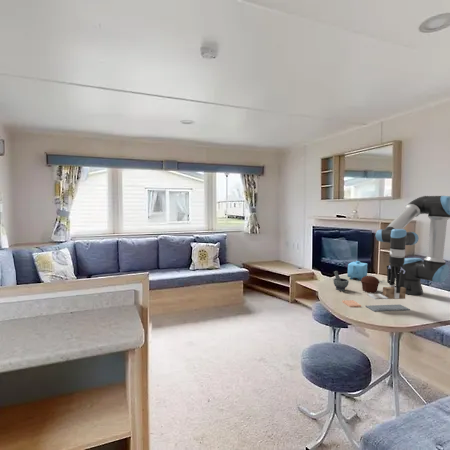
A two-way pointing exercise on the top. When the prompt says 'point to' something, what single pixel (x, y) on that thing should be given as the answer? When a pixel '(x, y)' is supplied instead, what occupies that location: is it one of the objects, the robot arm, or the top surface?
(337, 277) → the mortar and pestle
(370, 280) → the muffin
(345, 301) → the tile
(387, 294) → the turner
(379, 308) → the tool mat
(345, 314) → the top surface
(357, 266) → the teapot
